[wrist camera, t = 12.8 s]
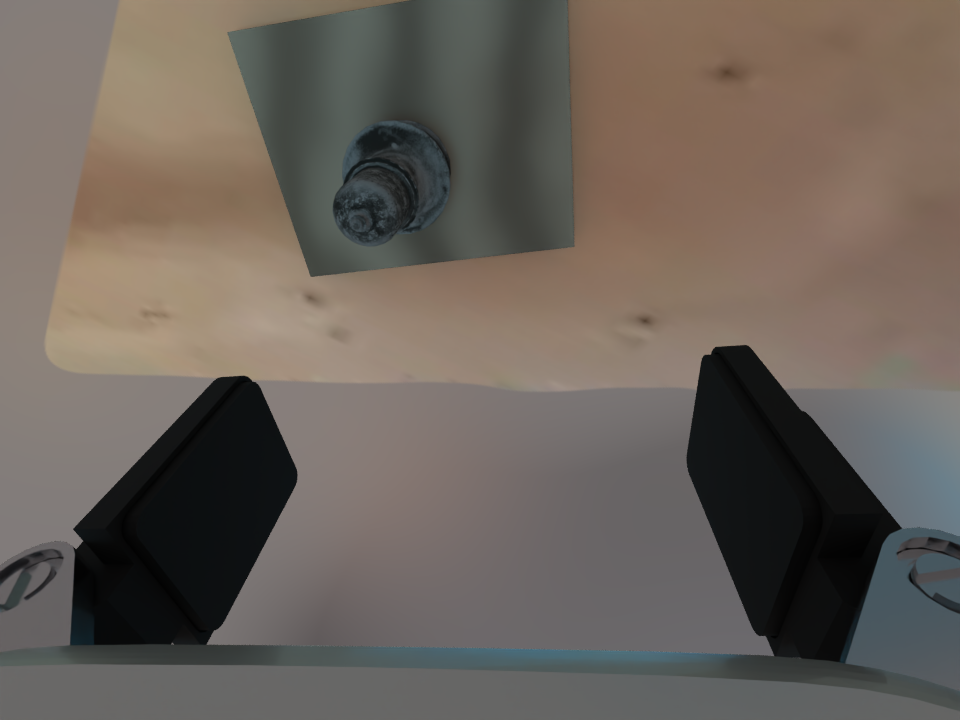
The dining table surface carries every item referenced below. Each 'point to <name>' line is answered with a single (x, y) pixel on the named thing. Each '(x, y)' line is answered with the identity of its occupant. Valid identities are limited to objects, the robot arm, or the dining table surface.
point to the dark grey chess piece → (391, 182)
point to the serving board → (422, 120)
